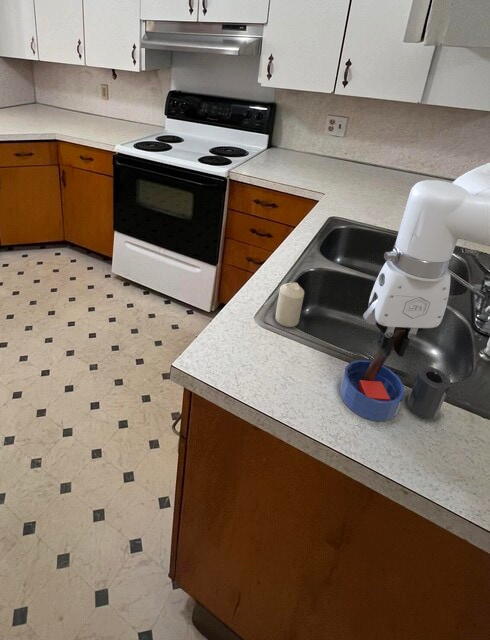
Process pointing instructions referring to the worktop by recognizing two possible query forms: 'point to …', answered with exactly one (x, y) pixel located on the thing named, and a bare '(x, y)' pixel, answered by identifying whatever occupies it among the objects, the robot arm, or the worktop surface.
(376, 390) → the red block
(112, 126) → the worktop surface
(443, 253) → the robot arm
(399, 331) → the stirring stick
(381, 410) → the bowl
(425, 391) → the utensil holder
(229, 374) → the worktop surface
